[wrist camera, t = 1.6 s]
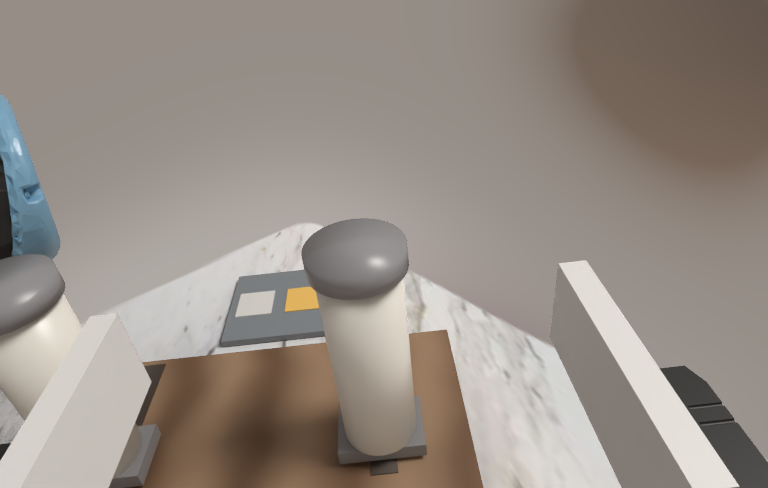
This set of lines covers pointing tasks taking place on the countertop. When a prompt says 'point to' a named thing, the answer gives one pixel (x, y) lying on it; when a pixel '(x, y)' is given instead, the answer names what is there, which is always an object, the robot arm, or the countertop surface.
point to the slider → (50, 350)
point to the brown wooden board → (294, 422)
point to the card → (272, 310)
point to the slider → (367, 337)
